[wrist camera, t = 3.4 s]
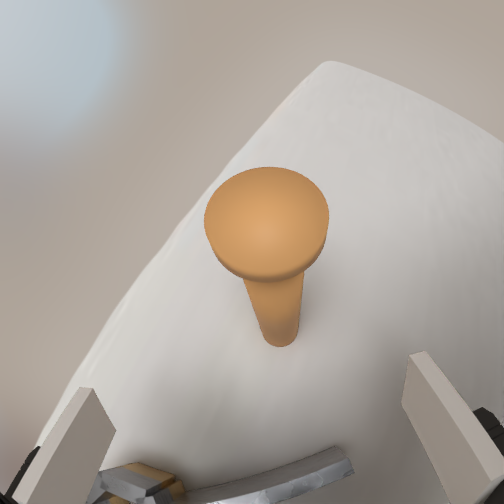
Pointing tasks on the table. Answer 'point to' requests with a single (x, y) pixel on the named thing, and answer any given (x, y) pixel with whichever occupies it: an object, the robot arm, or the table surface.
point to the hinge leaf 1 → (164, 477)
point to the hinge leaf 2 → (227, 484)
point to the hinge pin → (269, 241)
